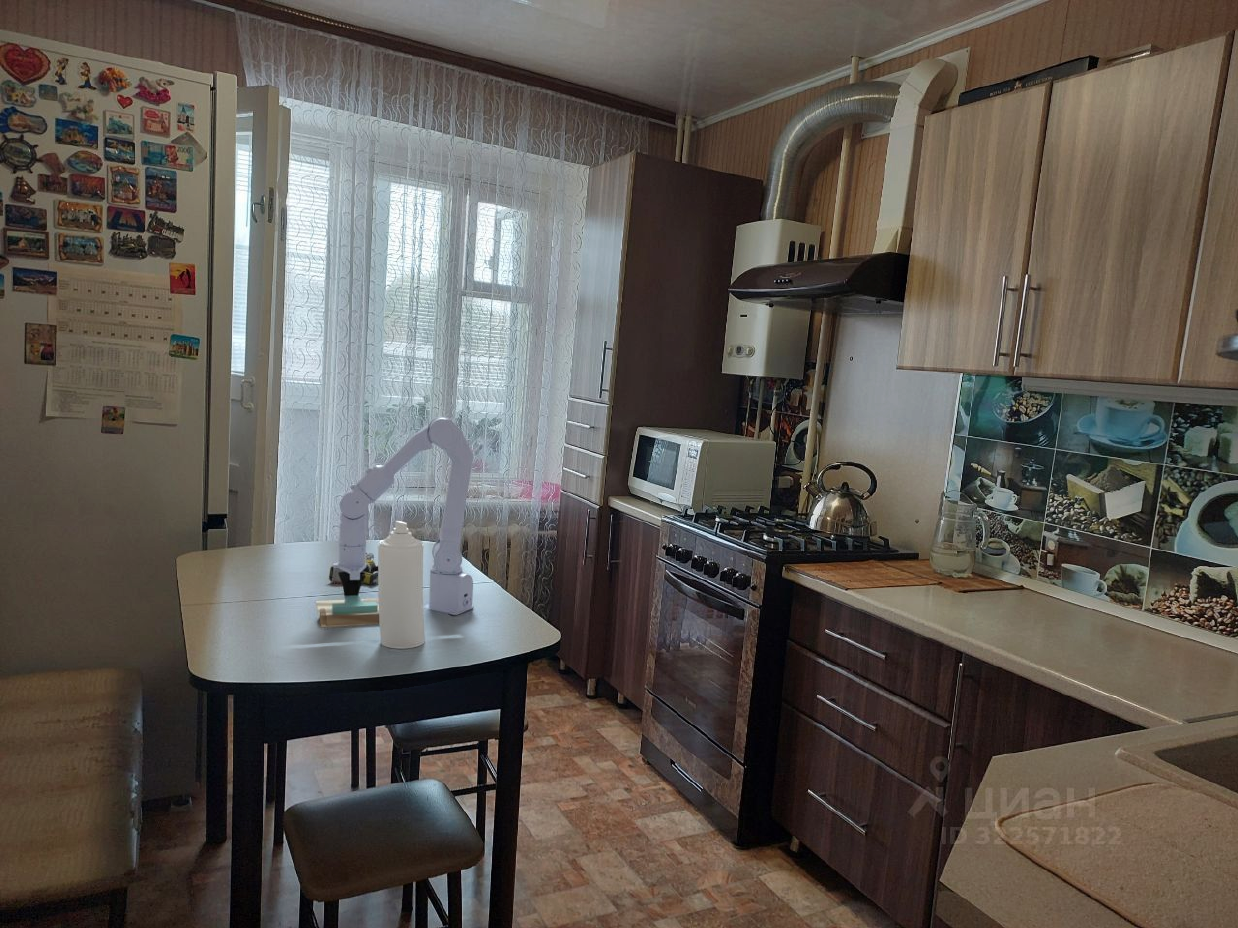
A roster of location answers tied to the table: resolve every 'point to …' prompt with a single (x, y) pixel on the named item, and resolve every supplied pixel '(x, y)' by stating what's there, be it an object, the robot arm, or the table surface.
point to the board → (345, 615)
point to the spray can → (401, 589)
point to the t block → (354, 606)
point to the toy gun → (369, 570)
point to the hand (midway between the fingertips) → (350, 603)
